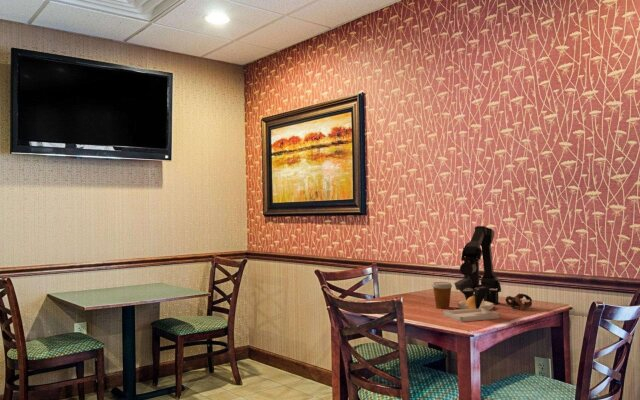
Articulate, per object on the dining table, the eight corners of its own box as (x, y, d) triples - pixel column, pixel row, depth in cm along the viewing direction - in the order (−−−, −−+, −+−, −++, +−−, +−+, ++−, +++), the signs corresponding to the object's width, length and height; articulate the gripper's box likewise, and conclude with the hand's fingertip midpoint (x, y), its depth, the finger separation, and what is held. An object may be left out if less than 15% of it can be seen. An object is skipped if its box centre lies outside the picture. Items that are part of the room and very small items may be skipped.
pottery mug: (527, 307, 265) (532, 294, 261) (529, 319, 257) (534, 306, 253) (502, 301, 267) (507, 288, 263) (503, 313, 259) (508, 299, 255)
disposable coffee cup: (452, 309, 262) (452, 284, 262) (432, 309, 264) (432, 284, 264) (452, 305, 271) (451, 281, 271) (432, 305, 273) (432, 281, 273)
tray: (480, 312, 254) (480, 307, 254) (500, 318, 239) (500, 313, 239) (442, 315, 248) (442, 311, 248) (460, 321, 233) (460, 317, 233)
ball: (475, 308, 250) (475, 295, 250) (482, 310, 244) (482, 296, 244) (463, 309, 248) (463, 295, 248) (471, 311, 242) (471, 297, 242)
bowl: (480, 304, 275) (480, 299, 275) (499, 309, 260) (499, 304, 260) (452, 306, 270) (452, 301, 270) (470, 311, 255) (470, 307, 255)
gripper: (446, 271, 253) (446, 305, 253) (468, 276, 235) (469, 312, 235) (467, 270, 256) (467, 303, 256) (490, 274, 238) (491, 310, 238)
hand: (473, 307), depth 246 cm, fingers closed on ball, 6 cm apart
